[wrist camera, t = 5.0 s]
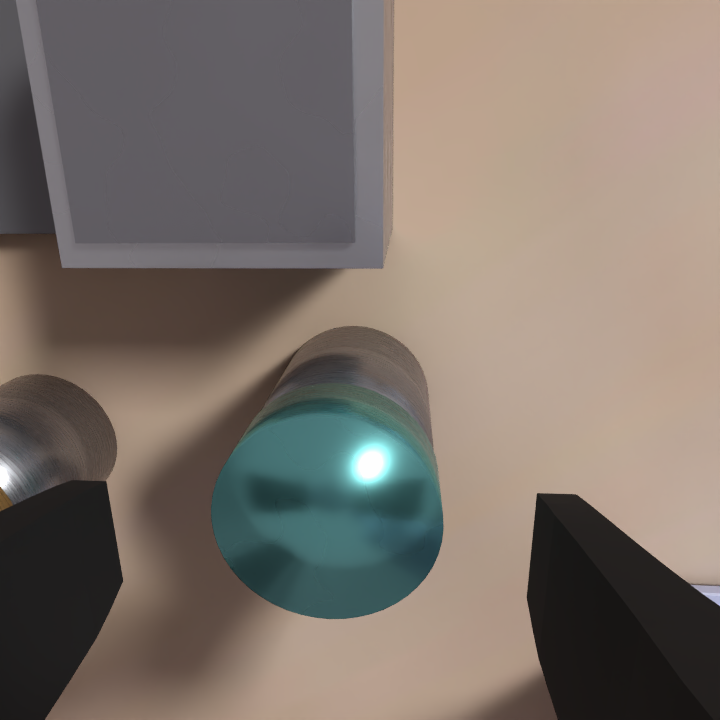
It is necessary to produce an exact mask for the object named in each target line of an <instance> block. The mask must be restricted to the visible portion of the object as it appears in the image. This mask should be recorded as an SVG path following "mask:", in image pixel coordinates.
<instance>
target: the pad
mask: <svg viewBox="0 0 720 720" xmlns="http://www.w3.org/2000/svg"><path fill="white" fill-rule="evenodd" d="M0 234H56V230H55V225H54V219H53V213H52V207H51V201H50V196H49V190H48V184H47V178H46V173H45V167H44V161H43V155H42V149H41V144H40V138H39V132H38V126H37V120H36V115H35V109H34V103H33V97H32V91H31V86H30V80H29V74H28V68H27V63H26V57H25V51H24V45H23V39H22V34H21V28H20V22H19V16H18V10H17V5H16V0H0Z"/></svg>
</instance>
